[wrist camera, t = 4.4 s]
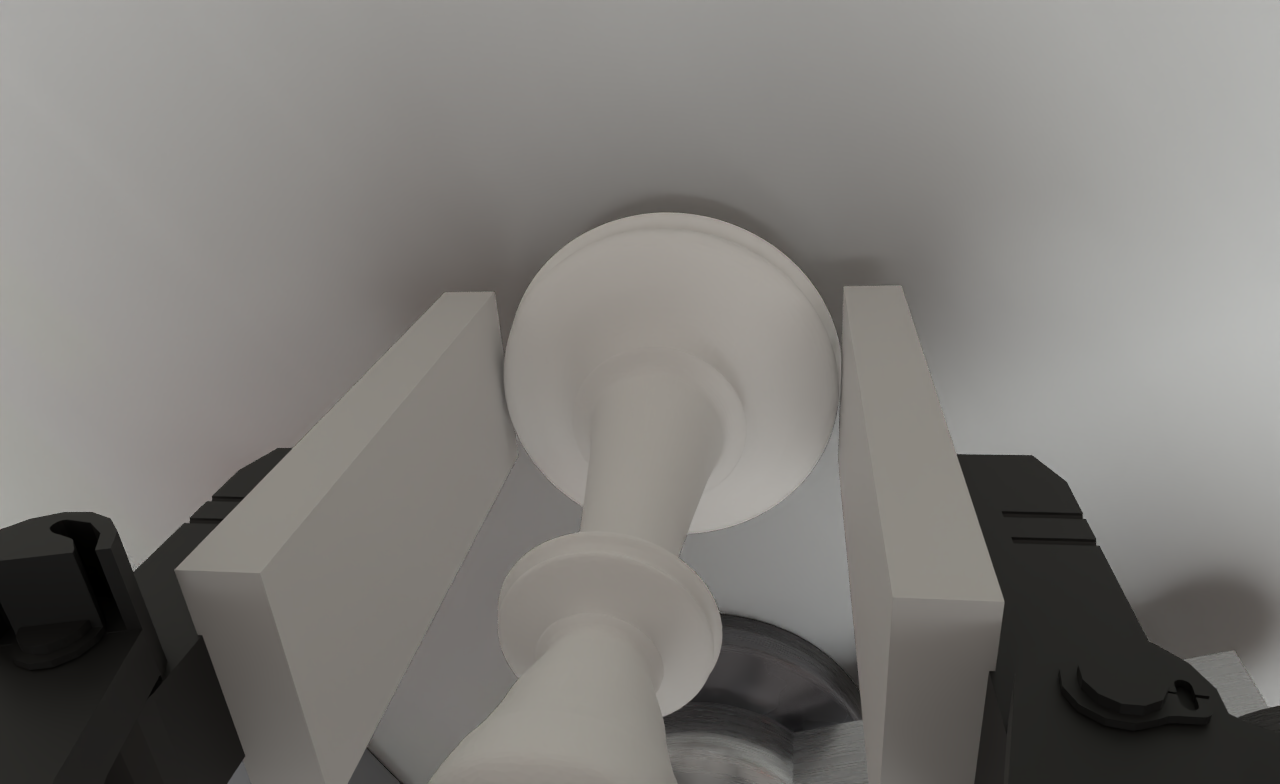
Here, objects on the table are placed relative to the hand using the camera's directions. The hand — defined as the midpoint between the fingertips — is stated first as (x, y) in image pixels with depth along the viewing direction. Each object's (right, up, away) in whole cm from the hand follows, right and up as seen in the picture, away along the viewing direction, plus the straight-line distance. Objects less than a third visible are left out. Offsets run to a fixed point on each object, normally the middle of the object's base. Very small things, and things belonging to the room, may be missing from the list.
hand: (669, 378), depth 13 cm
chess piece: (0, 0, +1) cm, 1 cm away
